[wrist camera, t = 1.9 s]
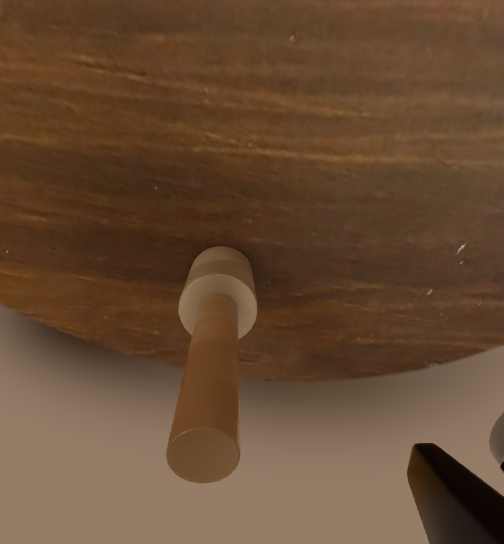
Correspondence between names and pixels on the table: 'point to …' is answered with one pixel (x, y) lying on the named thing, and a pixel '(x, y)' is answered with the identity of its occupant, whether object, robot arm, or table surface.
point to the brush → (212, 365)
